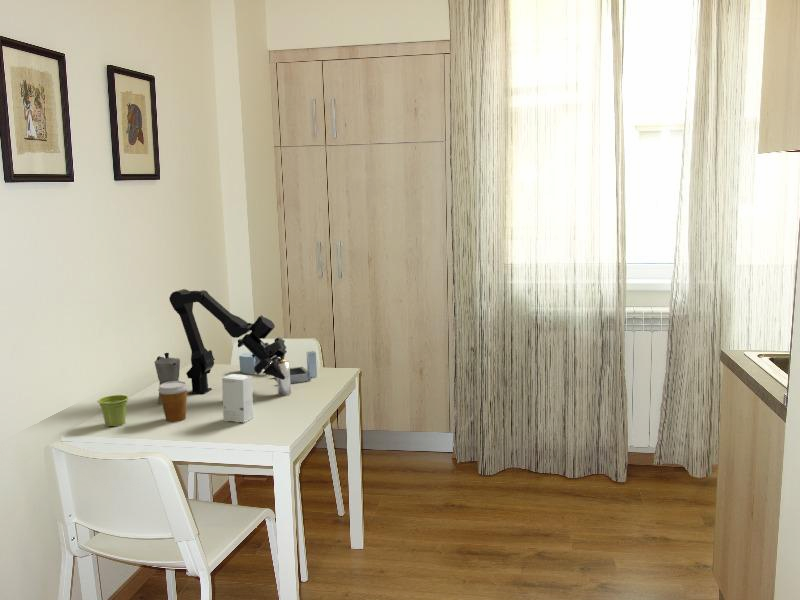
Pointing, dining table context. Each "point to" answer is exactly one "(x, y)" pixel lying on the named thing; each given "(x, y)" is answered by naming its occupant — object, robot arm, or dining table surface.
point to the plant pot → (114, 409)
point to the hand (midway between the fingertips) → (287, 376)
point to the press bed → (304, 370)
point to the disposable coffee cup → (174, 400)
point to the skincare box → (237, 398)
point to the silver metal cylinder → (285, 384)
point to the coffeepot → (167, 370)
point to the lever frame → (247, 363)
